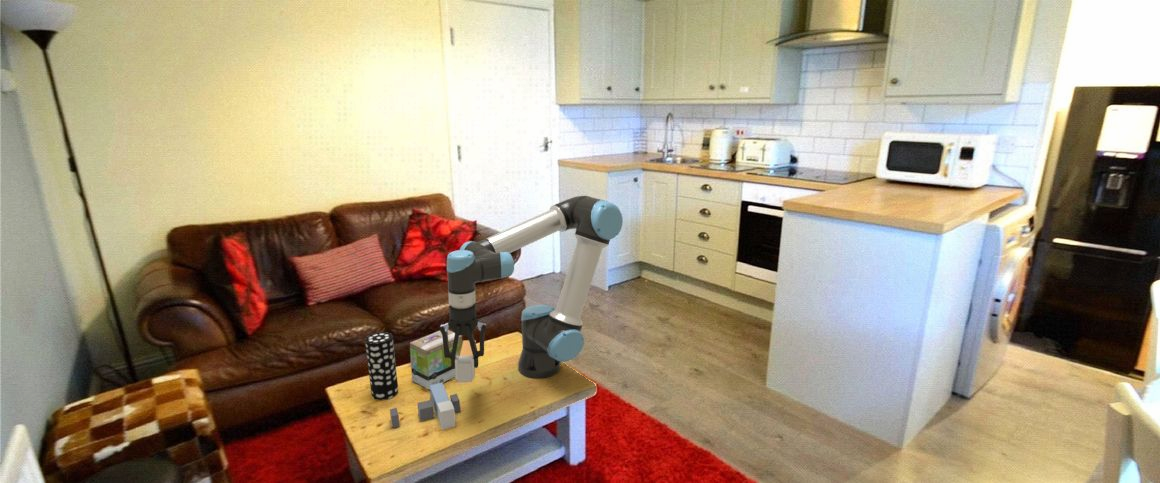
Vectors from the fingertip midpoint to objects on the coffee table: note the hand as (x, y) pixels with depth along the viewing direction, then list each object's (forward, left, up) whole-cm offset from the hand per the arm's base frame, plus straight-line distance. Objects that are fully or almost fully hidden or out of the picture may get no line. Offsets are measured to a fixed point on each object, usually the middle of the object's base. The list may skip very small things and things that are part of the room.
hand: (465, 377), depth 158 cm
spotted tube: (+22, -24, -14) cm, 35 cm away
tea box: (+4, -27, -14) cm, 31 cm away
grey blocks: (+12, -5, -13) cm, 18 cm away
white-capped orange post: (-2, -6, 0) cm, 7 cm away
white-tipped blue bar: (+7, -5, -13) cm, 16 cm away
